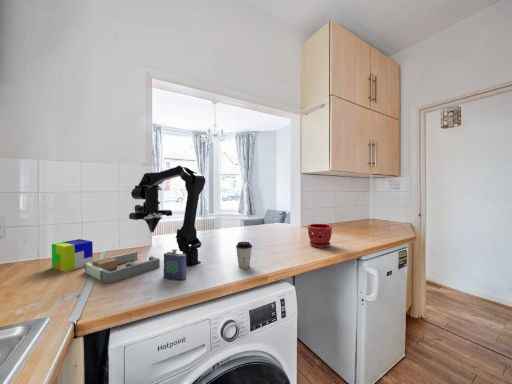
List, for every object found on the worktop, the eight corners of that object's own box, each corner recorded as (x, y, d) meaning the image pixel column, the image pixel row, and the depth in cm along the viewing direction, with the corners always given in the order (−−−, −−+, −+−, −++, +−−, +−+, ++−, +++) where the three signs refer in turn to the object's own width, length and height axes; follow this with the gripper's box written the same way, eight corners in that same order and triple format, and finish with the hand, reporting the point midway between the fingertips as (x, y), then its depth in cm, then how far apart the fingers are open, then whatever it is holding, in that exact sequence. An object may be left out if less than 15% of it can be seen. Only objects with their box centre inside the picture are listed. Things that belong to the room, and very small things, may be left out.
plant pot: (307, 242, 134) (307, 223, 134) (329, 243, 132) (330, 223, 132) (308, 248, 122) (308, 226, 121) (333, 249, 119) (333, 227, 119)
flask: (187, 278, 81) (187, 249, 81) (183, 281, 78) (182, 251, 78) (166, 275, 84) (166, 247, 83) (161, 278, 81) (160, 249, 81)
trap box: (160, 266, 93) (160, 258, 92) (107, 283, 76) (107, 273, 76) (136, 258, 103) (136, 251, 103) (84, 272, 87) (84, 263, 87)
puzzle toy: (92, 264, 96) (92, 241, 96) (65, 272, 87) (64, 246, 87) (79, 260, 100) (79, 239, 100) (51, 268, 91) (51, 244, 91)
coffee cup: (255, 265, 95) (255, 242, 94) (247, 270, 88) (247, 245, 88) (241, 262, 98) (241, 240, 98) (232, 267, 92) (232, 243, 92)
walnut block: (117, 272, 87) (116, 259, 87) (99, 277, 82) (99, 263, 82) (110, 269, 90) (109, 256, 90) (92, 273, 85) (92, 260, 85)
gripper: (159, 198, 117) (159, 227, 117) (122, 200, 101) (122, 233, 102) (172, 199, 111) (172, 230, 111) (135, 200, 95) (136, 236, 96)
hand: (152, 232), depth 105 cm, fingers closed
